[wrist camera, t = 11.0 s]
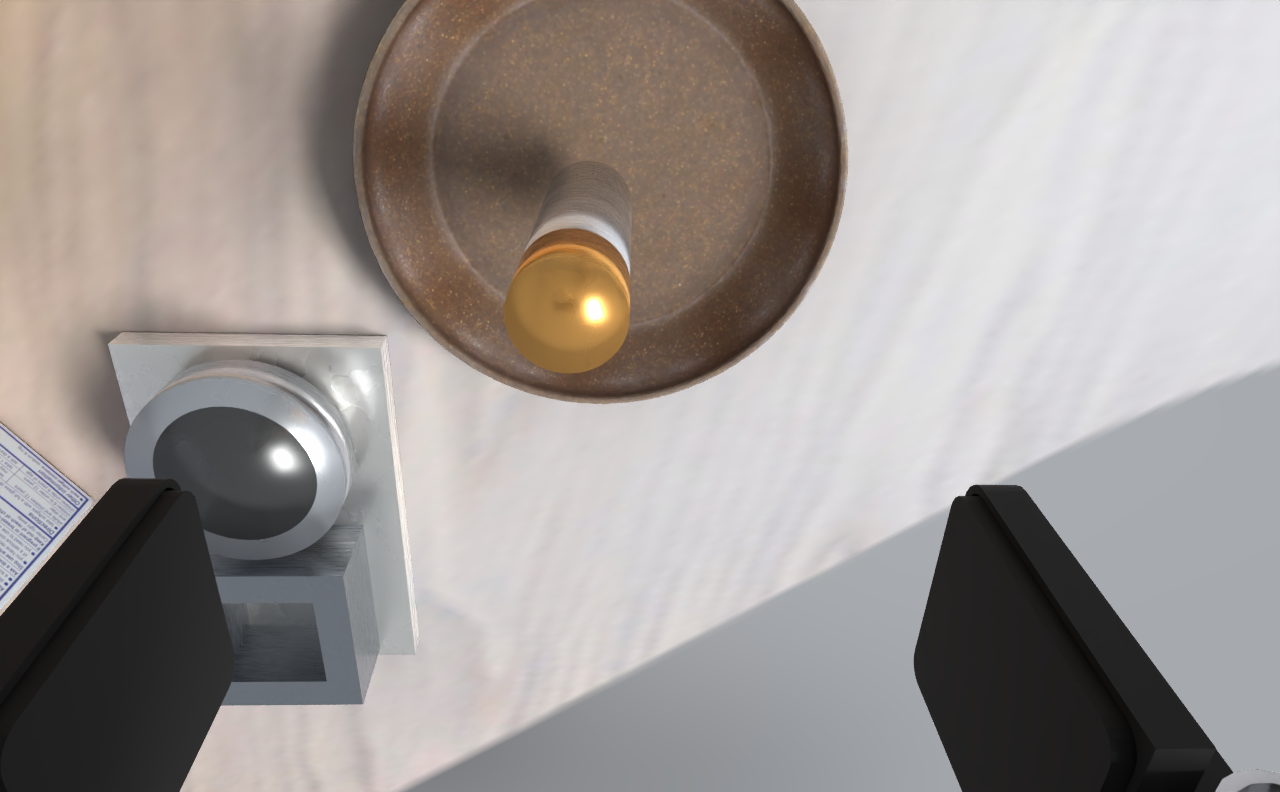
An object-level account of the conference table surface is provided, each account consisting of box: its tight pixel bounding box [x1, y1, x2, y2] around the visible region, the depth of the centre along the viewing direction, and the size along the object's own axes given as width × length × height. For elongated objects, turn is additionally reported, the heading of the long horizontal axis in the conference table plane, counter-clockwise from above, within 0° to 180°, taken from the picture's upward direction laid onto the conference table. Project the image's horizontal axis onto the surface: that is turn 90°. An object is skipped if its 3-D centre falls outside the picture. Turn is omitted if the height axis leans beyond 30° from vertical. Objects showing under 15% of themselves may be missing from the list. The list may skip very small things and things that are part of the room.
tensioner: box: [108, 332, 420, 705], centre depth 32 cm, size 14×9×4 cm, turn 178°
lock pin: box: [504, 161, 632, 373], centre depth 22 cm, size 3×3×9 cm
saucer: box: [353, 0, 848, 404], centre depth 28 cm, size 15×15×3 cm
